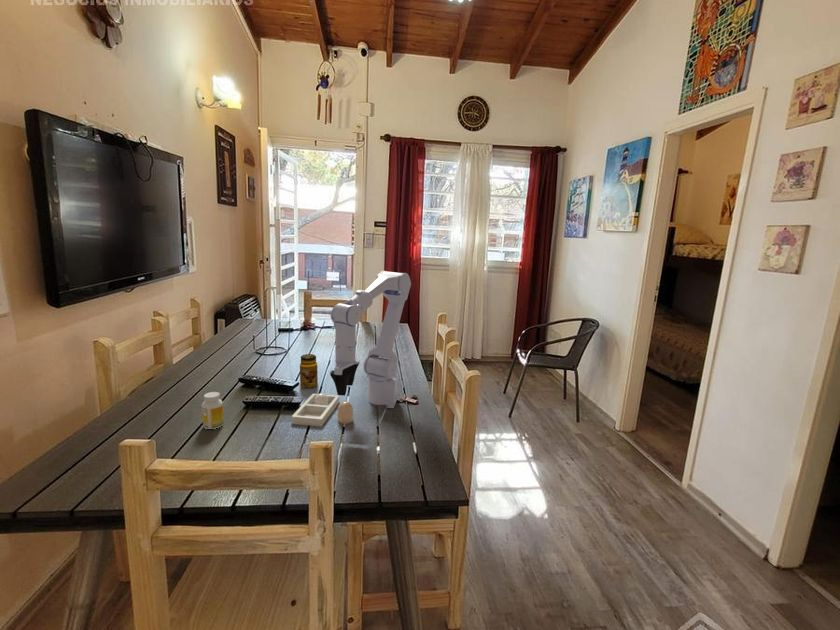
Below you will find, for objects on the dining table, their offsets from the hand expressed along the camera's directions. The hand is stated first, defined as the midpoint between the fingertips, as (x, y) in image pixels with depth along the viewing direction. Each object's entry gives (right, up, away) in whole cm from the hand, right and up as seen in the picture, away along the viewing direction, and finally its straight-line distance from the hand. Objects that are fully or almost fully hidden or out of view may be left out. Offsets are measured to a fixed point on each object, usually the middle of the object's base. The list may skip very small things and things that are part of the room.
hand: (345, 389), depth 121 cm
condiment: (-19, -4, +28) cm, 34 cm away
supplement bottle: (-37, -10, -3) cm, 39 cm away
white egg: (-10, -7, +10) cm, 16 cm away
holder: (-10, -9, +7) cm, 15 cm away
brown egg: (0, -10, +2) cm, 10 cm away
